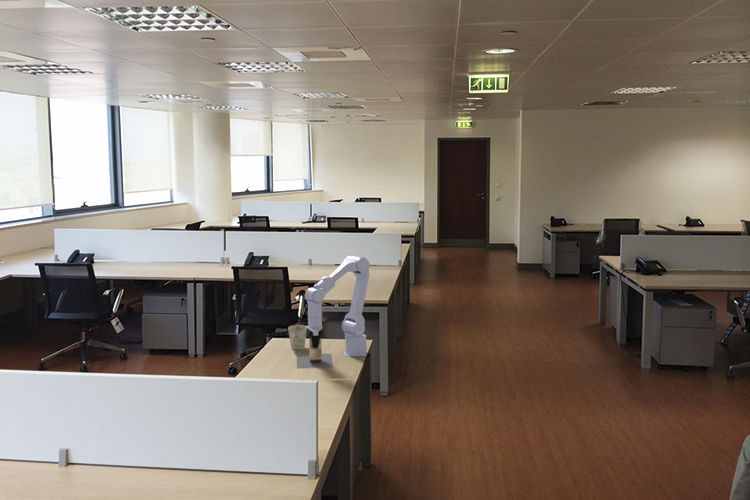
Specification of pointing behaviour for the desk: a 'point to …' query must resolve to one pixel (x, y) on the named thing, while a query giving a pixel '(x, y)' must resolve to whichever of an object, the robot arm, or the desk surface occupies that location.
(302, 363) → the mat
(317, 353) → the block
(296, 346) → the mug
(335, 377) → the desk surface
